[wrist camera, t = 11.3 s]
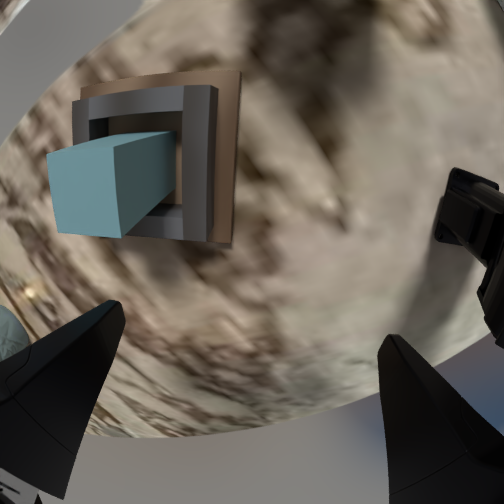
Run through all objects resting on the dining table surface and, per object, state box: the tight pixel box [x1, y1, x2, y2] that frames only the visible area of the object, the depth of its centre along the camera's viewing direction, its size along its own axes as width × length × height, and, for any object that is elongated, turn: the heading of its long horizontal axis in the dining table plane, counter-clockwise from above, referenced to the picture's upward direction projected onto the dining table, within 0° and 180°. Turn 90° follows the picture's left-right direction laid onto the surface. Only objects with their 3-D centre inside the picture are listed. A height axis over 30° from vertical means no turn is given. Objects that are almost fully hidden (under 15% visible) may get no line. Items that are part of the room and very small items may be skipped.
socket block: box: [72, 71, 242, 243], centre depth 16 cm, size 12×12×4 cm
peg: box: [47, 130, 176, 238], centre depth 14 cm, size 4×4×8 cm
